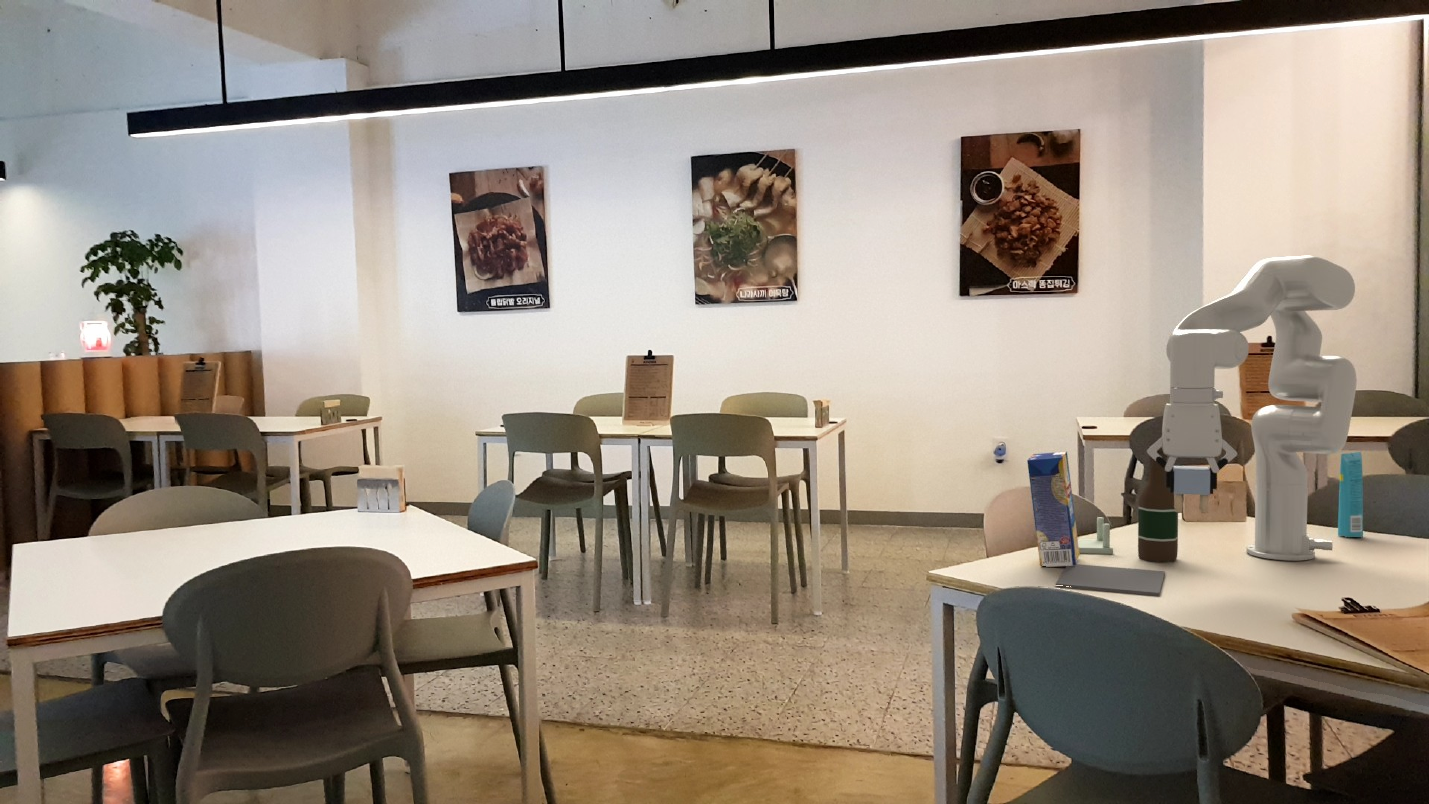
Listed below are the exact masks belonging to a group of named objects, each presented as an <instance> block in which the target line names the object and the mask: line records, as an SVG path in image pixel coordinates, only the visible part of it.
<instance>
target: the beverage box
mask: <svg viewBox="0 0 1429 804" xmlns="http://www.w3.org/2000/svg"><path fill="white" fill-rule="evenodd" d="M1026 460H1027V468H1028V476H1029V477H1028V478H1029V484H1030V485H1029V487H1030V492H1031V502H1032V503H1031V504H1032V511H1033V519H1034V525H1035V535H1036V541H1037V542H1036V543H1037V551H1038V558H1039V559H1038V560H1039V566H1046V567H1045V568H1048V567H1049V568H1050V567H1066V566H1075V565H1076V564H1077V563H1078V559H1079V557H1080V553H1079V547H1078V532H1077V523H1076V516H1075V515H1076V514H1075V507H1074V499H1073V491H1072V482H1071V474H1070V473H1071V472H1070V465H1069V458H1068V451H1057V452H1056V451H1055V452H1044V453H1033V454H1032V455H1031V456H1030V457H1029V458H1028V459H1026Z"/></svg>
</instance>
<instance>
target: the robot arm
mask: <svg viewBox="0 0 1429 804" xmlns="http://www.w3.org/2000/svg"><path fill="white" fill-rule="evenodd" d="M1355 285H1356V283H1355V280H1354V278H1353V276H1352V274H1351V273H1350V272H1349V271H1348V270H1347V269H1346V268H1344V267H1342V265H1341V266H1340V265H1338V264H1336V263H1334V262H1332V261H1329V260H1327V259H1325V258H1322V257H1319V256H1314V255H1313V256H1312V255H1301V256H1298V255H1297V256H1285V257H1283V256H1282V257H1270V258H1265V259H1262V260H1260V261H1258V262H1256V263H1255V264H1254V265H1252V266H1251V268H1250V269H1249V270H1248V271H1247V272H1246V274H1245V275H1244V276H1243V277H1242V278H1241V280H1240V281H1239V282H1238V283H1237V285H1235V286H1234V288H1233V289H1232V290H1231V292H1229V294H1228V295H1226V296H1223V297H1220V298H1218V299H1216V300H1214V301H1212V302H1211V303H1209V304H1206V305H1204V306H1202V307H1200V308H1197V309H1196V310H1194V311H1192V312H1191V313H1188V315H1187V316H1185V317H1184V318H1183V319H1182V320H1180V322H1179V324H1178V325H1177V326H1176V327H1175V329H1173V331H1172V332H1171V334H1170V336H1169V337H1168V340H1167V344H1166V347H1165V349H1166V356H1167V357H1166V358H1168V361H1169V364H1170V369H1169V373H1170V374H1169V375H1170V376H1169V377H1170V379H1169V386H1170V387H1169V403H1165V405H1164V410H1163V417H1162V428H1161V437H1160V438H1159V439H1157V441H1155V442H1154V443H1153V444H1151V445H1152V446H1151V445H1150V446H1151V447H1150V446H1149V448H1148V449H1147V450H1146V453H1147V455H1148V456H1151V457H1152V458H1153V459H1154V460H1155V461H1156V462H1157V463H1158V464H1159V465H1160V466H1162V467H1163V468H1164V469H1165V470H1166V488H1170V493H1173V492H1174V471H1173V466H1175V463H1176V460H1177V459H1178V458H1189V459H1190V458H1195V459H1196V458H1200V459H1206V460H1207V463H1208V465H1209V467H1208V468H1209V470H1210V495H1214V490H1218V473H1219V472H1220V471H1221V470H1222V469H1223V468H1224V467H1226V465H1228V463H1230V462H1231V461H1232V460H1233V459H1234V458H1236V457H1237V456H1238V452H1237V451H1236V450H1235V449H1234V448H1233V447H1232V446H1231V445H1230V444H1229V443H1228V442H1226V440H1225V439H1223V437H1222V435H1223V434H1222V422H1221V412H1220V407H1219V403H1215V401H1216V400H1218V399H1223V398H1224V391H1223V390H1219V389H1218V390H1217V389H1216V388H1215V370H1217V369H1218V370H1226V369H1228V370H1229V369H1234V368H1237V367H1239V366H1241V365H1242V364H1244V362H1245V361H1246V360H1247V358H1248V355H1249V352H1250V346H1249V345H1250V344H1249V342H1248V339H1247V337H1246V336H1245V335H1244V334H1242V332H1246V331H1249V330H1252V329H1255V328H1257V327H1260V326H1262V325H1264V323H1265V322H1266V321H1267V320H1268V319H1269V318H1271V320H1272V322H1273V325H1274V328H1275V342H1274V347H1273V348H1274V350H1273V354H1272V357H1271V364H1270V365H1271V366H1270V370H1269V375H1268V384H1267V385H1268V391H1269V393H1270V394H1271V396H1272V397H1274V398H1276V399H1278V400H1284V401H1292V402H1293V401H1294V402H1310V403H1311V402H1314V403H1321V406H1304V405H1290V404H1271V405H1267V406H1263V407H1262V408H1259V409H1258V410H1257V411H1256V412H1255V413H1254V414H1253V416H1252V418H1251V419H1252V420H1251V424H1250V425H1251V426H1250V427H1251V435H1252V441H1253V446H1254V453H1255V506H1254V507H1255V508H1254V509H1255V510H1254V511H1255V512H1254V516H1255V517H1254V543H1253V544H1248V545H1247V546H1246V551H1245V552H1246V553H1247V554H1249V555H1250V556H1253V557H1257V558H1261V559H1262V558H1263V559H1267V560H1276V561H1277V560H1278V561H1288V562H1289V561H1292V562H1293V561H1295V562H1296V561H1307V560H1308V559H1309V560H1312V559H1314V558H1315V557H1316V552H1315V550H1322V551H1333V540H1325V539H1315V538H1311V537H1310V536H1309V533H1308V532H1307V531H1308V530H1307V529H1308V523H1307V522H1308V490H1309V489H1308V488H1309V487H1308V483H1309V482H1308V481H1309V474H1308V470H1307V467H1306V465H1305V464H1304V462H1303V460H1302V459H1301V457H1300V456H1299V455H1298V453H1308V454H1318V455H1320V454H1321V455H1331V454H1332V455H1333V454H1337V453H1339V452H1340V451H1342V449H1344V447H1345V445H1346V443H1347V440H1348V436H1349V431H1350V426H1351V425H1350V424H1351V421H1352V420H1351V419H1352V413H1353V409H1354V404H1355V397H1356V393H1357V373H1356V368H1355V366H1354V364H1353V363H1352V362H1351V361H1350V360H1349V359H1348V358H1345V357H1343V356H1338V355H1321V350H1322V349H1321V348H1322V342H1323V334H1322V331H1321V330H1320V329H1321V328H1320V327H1319V325H1318V324H1317V323H1316V321H1314V319H1313V318H1311V315H1309V314H1308V313H1307V312H1309V311H1310V312H1311V311H1314V312H1315V311H1337V310H1342V309H1344V308H1347V306H1349V305H1350V304H1351V302H1352V301H1353V300H1354V296H1355V293H1356V286H1355ZM1161 447H1162V451H1163V453H1164V454H1165V455H1167V461H1165V460H1164V459H1163V458H1162V457H1161V456H1160V455H1159V454H1158V453H1157V450H1158V449H1160V448H1161ZM1222 450H1224V451H1225V452H1226V453H1225V454H1224V456H1222V457H1221V458H1219V460H1216V459H1215V458H1218V457H1220V455H1221V454H1222ZM1309 560H1308V561H1309Z"/></svg>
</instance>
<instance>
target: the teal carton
mask: <svg viewBox="0 0 1429 804" xmlns="http://www.w3.org/2000/svg"><path fill="white" fill-rule="evenodd" d="M1340 457H1341V458H1340V467H1339V468H1340V469H1339V486H1338V487H1339V491H1338V515H1337V516H1338V519H1337V535H1339V537H1340V536H1345V537H1344V538H1346V537H1361V538H1363V537H1362V536H1364V501H1363V499H1364V491H1363V490H1364V489H1363V487H1364V486H1363V483H1364V482H1363V480H1364V479H1363V478H1364V477H1363V476H1364V475H1363V458H1362V452H1361V451H1356V452H1348V453H1344V452H1343V453H1341V455H1340Z"/></svg>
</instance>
